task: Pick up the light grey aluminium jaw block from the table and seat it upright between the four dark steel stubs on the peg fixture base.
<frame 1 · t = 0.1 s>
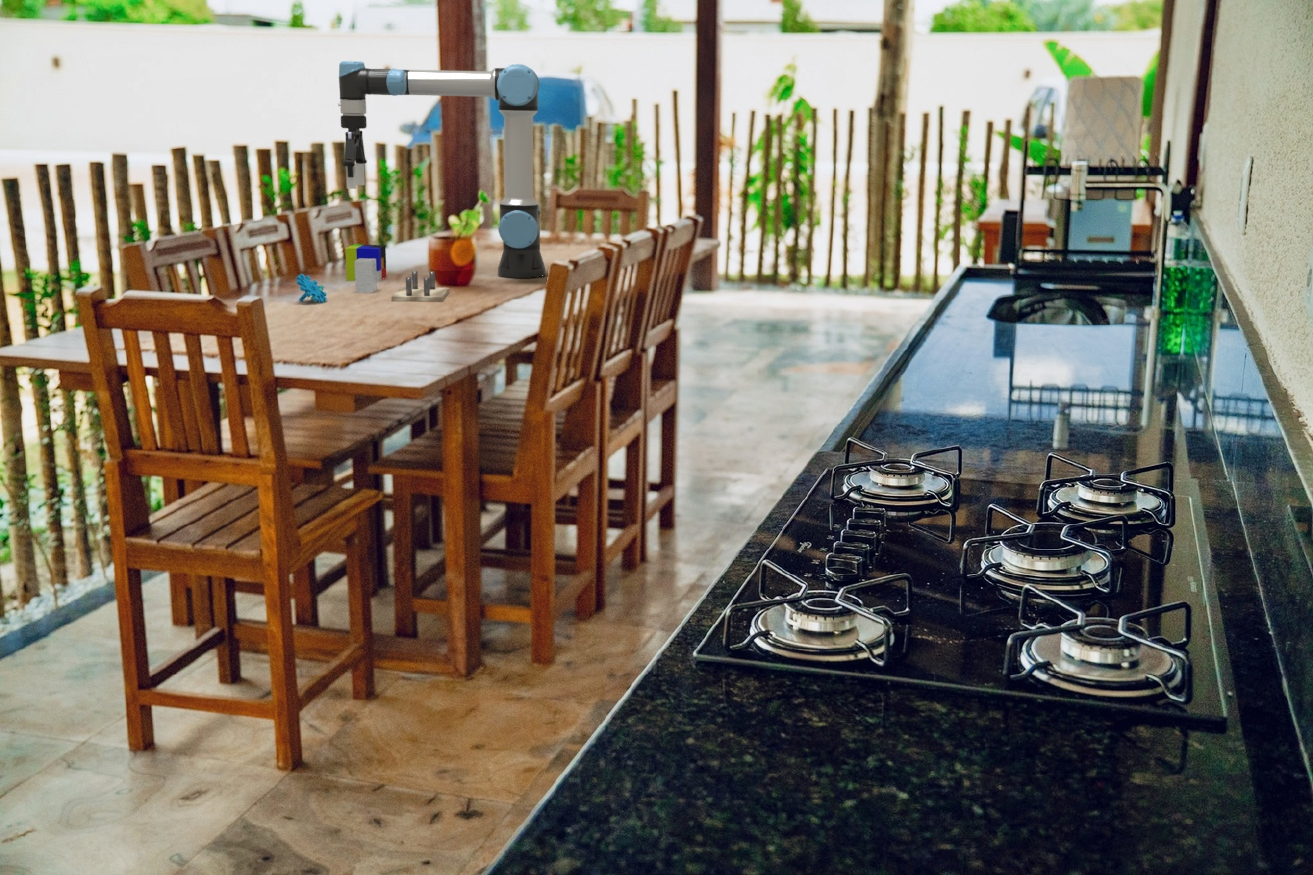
hand: (356, 187, 401), 28 cm above the table, fingers open, 13 cm apart
peg fixture base: (421, 296, 377), on the table
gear: (313, 302, 365), on the table
jaw block: (366, 290, 385), on the table
puzzle toy: (366, 279, 408), on the table
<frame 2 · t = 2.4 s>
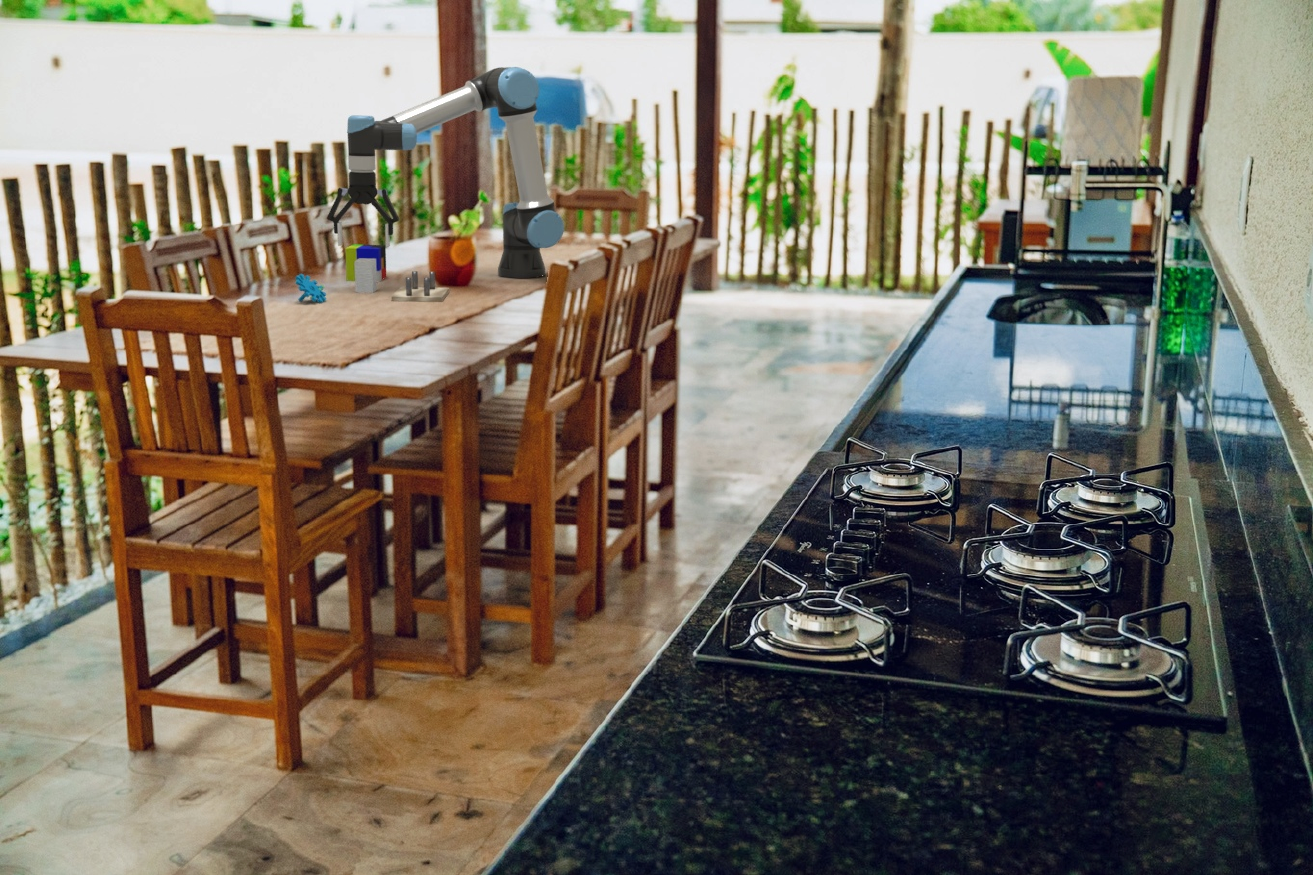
hand: (364, 246, 382), 13 cm above the table, fingers open, 13 cm apart
nothing on the table moved.
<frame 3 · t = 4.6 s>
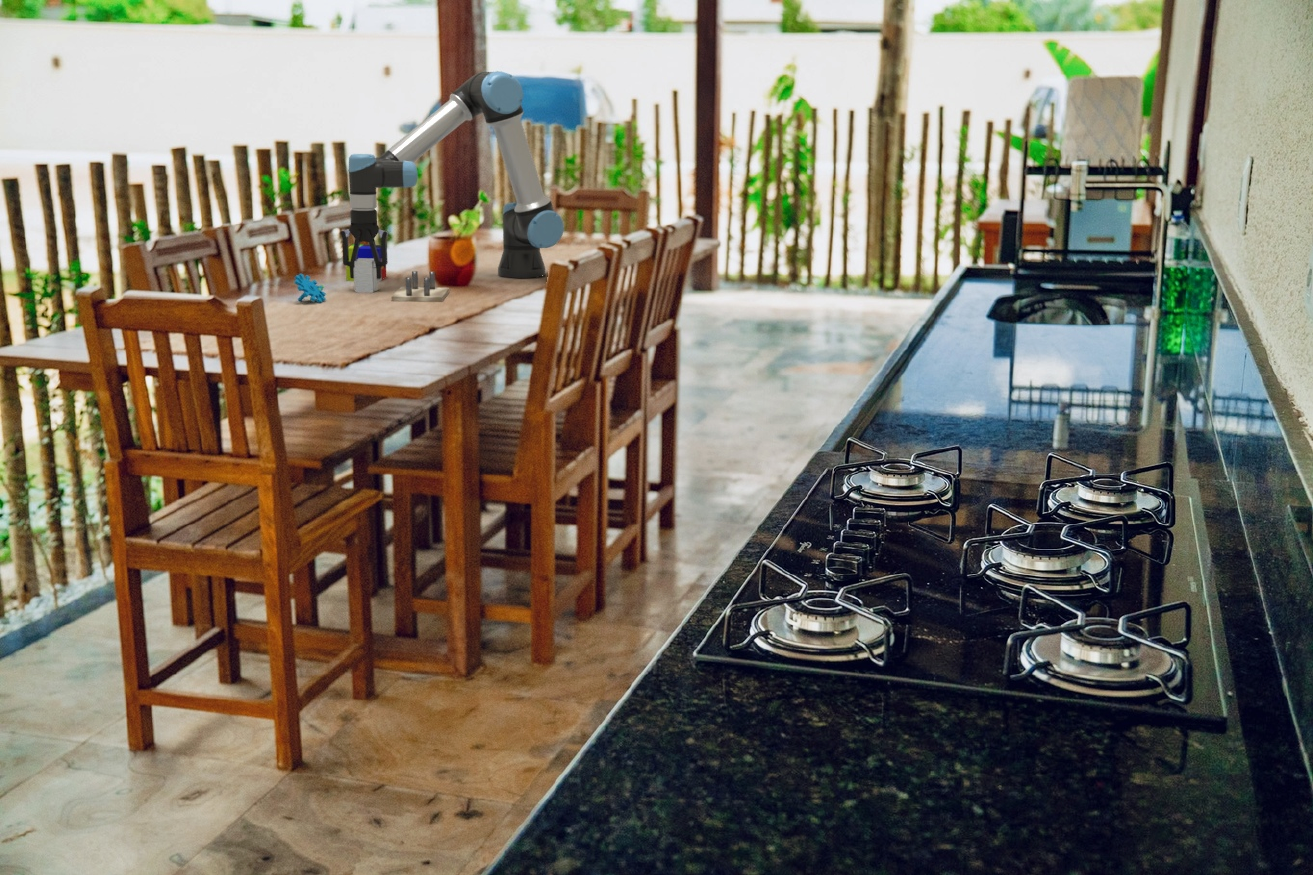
hand: (366, 289, 385), 0 cm above the table, fingers closed on jaw block, 5 cm apart
jaw block: (366, 290, 385), on the table, touching gripper
everything else where it was.
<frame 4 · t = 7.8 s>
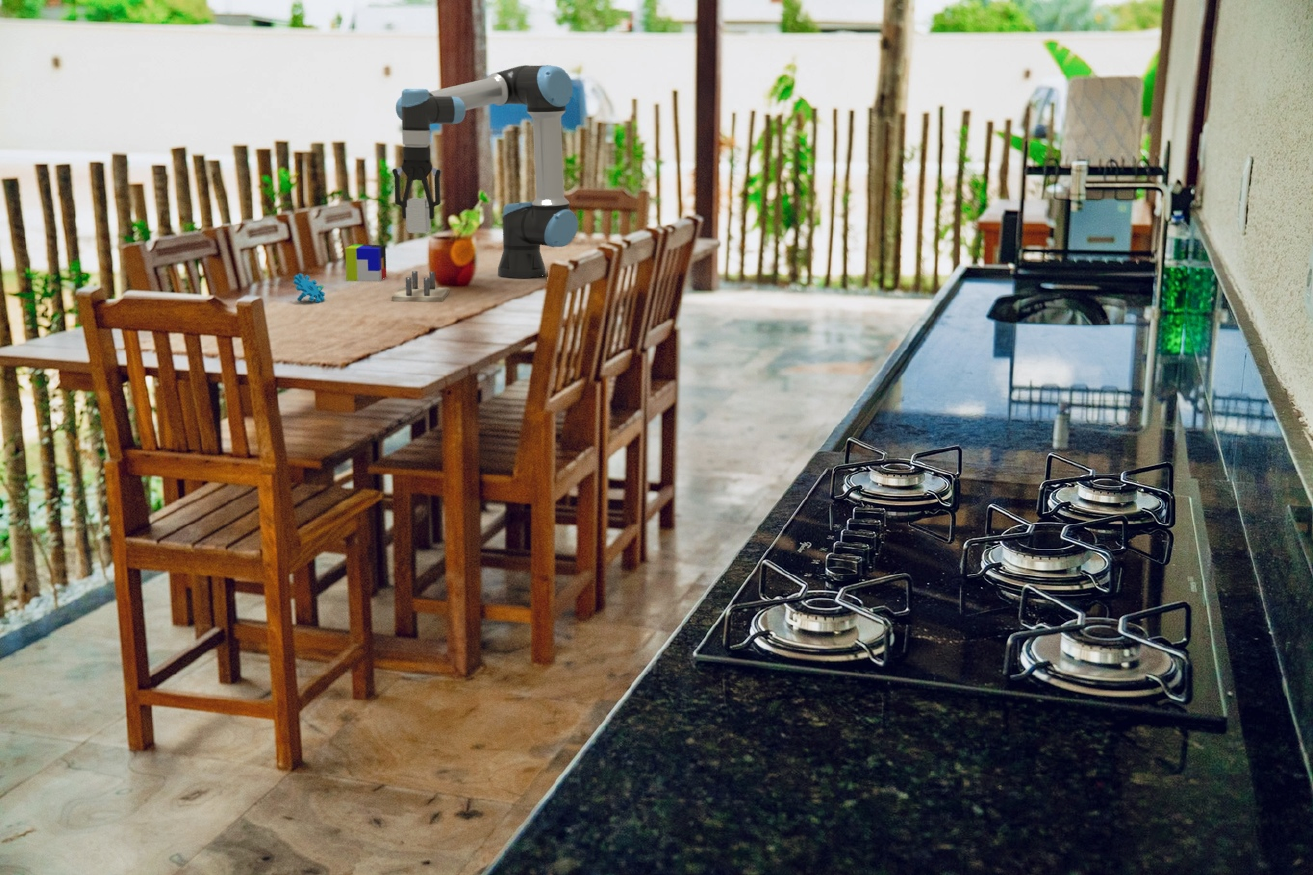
hand: (418, 230, 373), 19 cm above the table, fingers closed on jaw block, 5 cm apart
jaw block: (418, 231, 373), point 18 cm above the table, touching gripper
everything else where it was.
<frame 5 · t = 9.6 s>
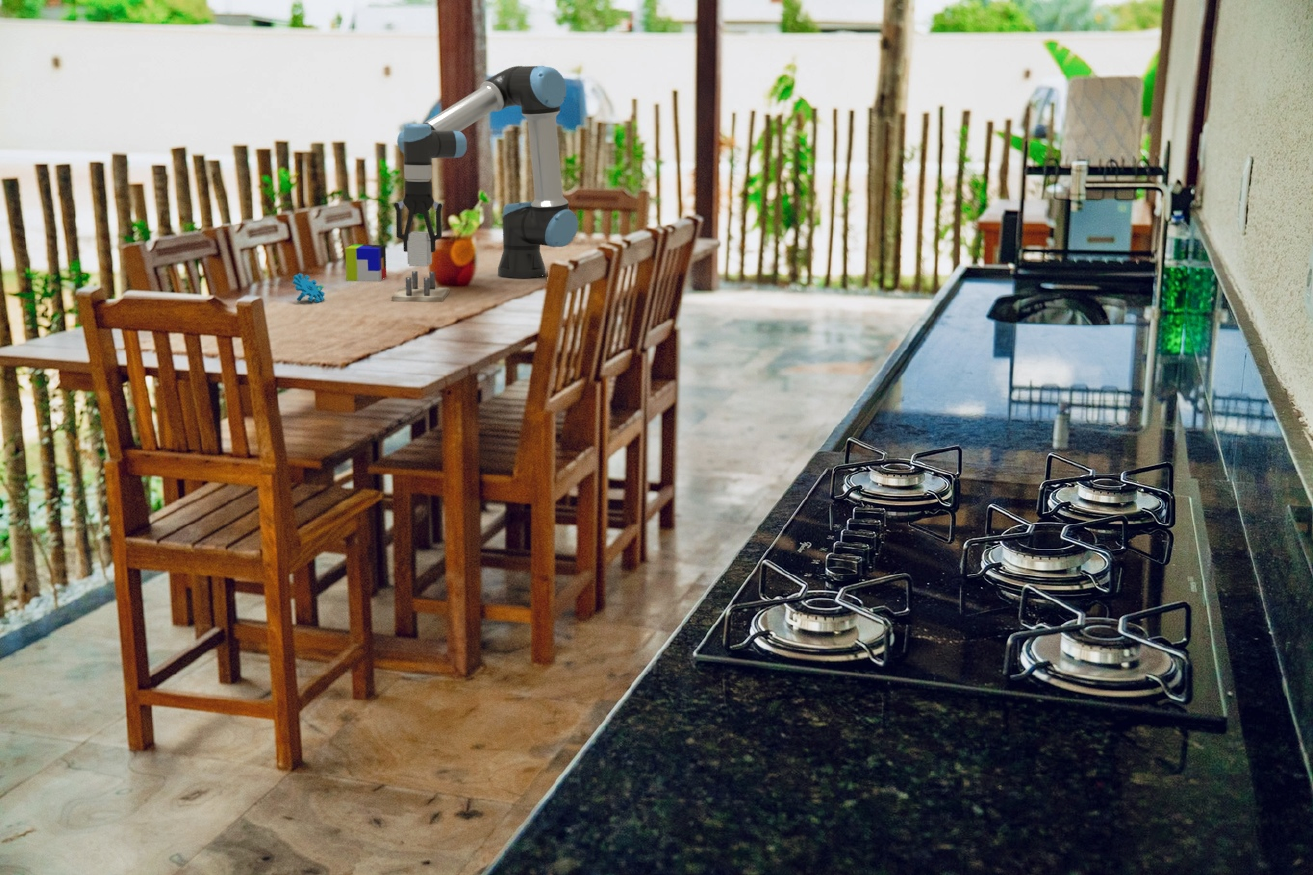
hand: (419, 263, 375), 9 cm above the table, fingers closed on jaw block, 5 cm apart
jaw block: (419, 264, 375), point 9 cm above the table, touching gripper
when the fingers open (2 cm above the table, at t = 11.2 s): jaw block stays where it is, resting on peg fixture base.
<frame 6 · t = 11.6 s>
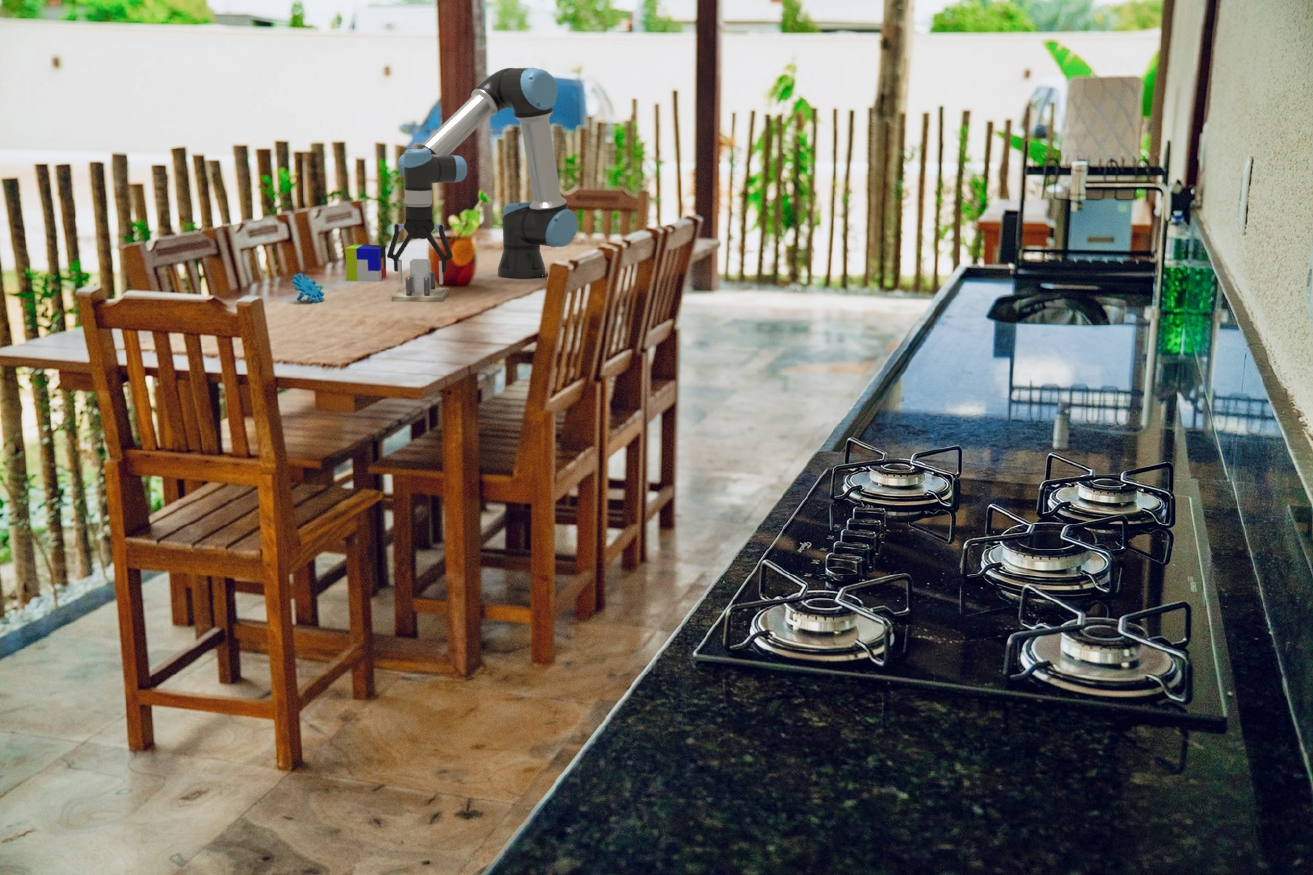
hand: (420, 283, 376), 4 cm above the table, fingers open, 11 cm apart
jaw block: (421, 292, 377), point 1 cm above the table, touching peg fixture base
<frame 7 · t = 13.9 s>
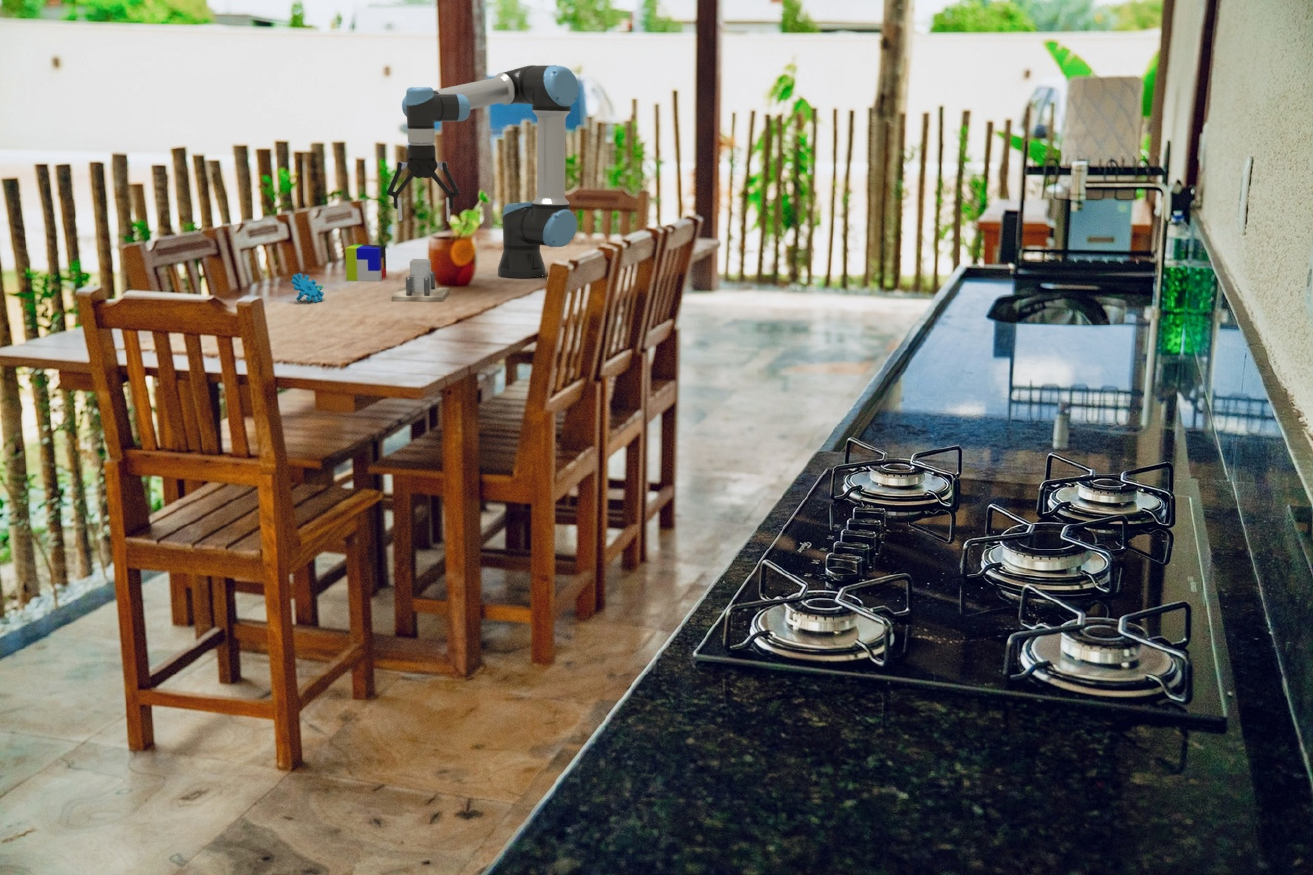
hand: (424, 220, 375), 21 cm above the table, fingers open, 13 cm apart
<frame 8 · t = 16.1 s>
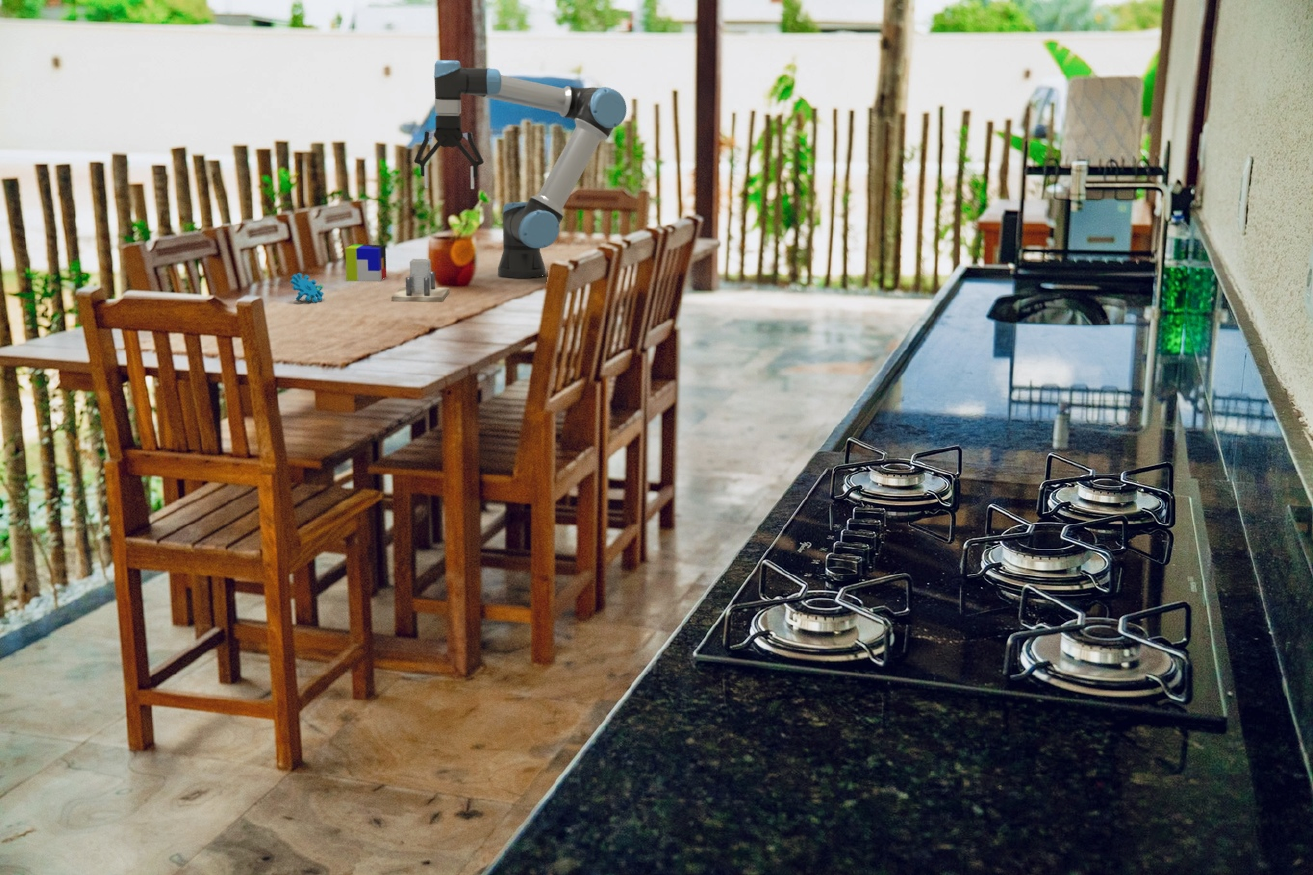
hand: (449, 188, 393), 29 cm above the table, fingers open, 13 cm apart
at the end: jaw block 0.0 cm off-centre on the peg fixture base, point 1.2 cm above the peg fixture base's base; jaw block tilted 0°; the gripper is holding nothing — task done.
